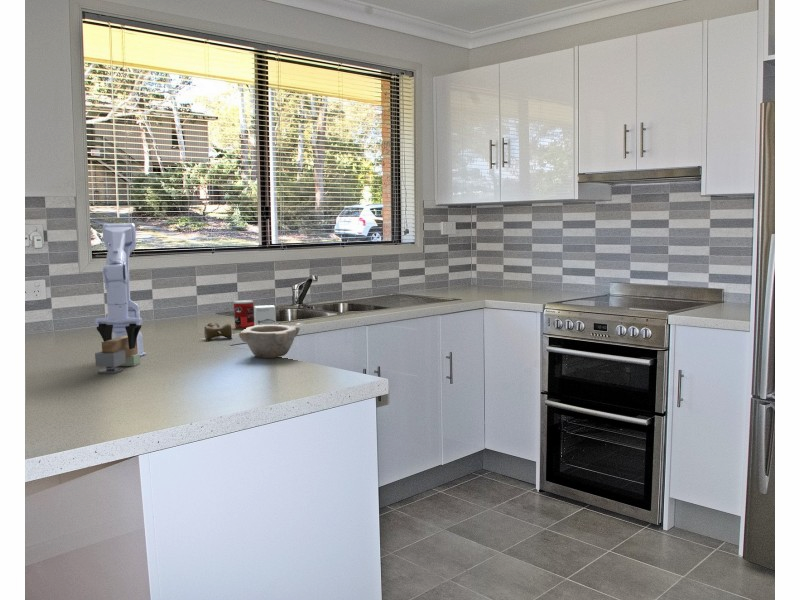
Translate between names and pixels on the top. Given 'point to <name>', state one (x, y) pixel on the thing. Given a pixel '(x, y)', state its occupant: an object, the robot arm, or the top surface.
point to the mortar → (269, 339)
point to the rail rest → (132, 360)
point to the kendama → (217, 331)
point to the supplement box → (265, 315)
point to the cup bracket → (110, 361)
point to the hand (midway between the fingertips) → (120, 348)
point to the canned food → (244, 313)
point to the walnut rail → (119, 346)
